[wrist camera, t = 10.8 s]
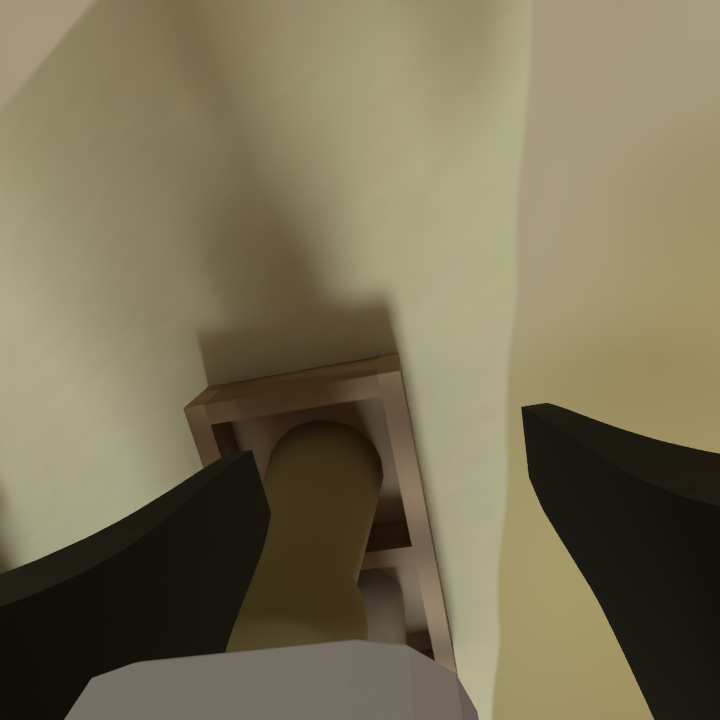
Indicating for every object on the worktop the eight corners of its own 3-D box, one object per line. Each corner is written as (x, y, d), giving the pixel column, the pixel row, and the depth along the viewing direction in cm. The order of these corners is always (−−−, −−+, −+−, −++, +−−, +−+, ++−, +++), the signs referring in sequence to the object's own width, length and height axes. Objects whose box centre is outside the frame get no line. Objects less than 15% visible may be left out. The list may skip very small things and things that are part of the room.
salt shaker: (412, 635, 25) (427, 882, 16) (319, 645, 26) (280, 888, 16) (394, 557, 24) (400, 777, 14) (297, 569, 24) (238, 788, 15)
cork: (338, 398, 21) (290, 561, 11) (406, 488, 22) (423, 714, 12) (245, 458, 23) (120, 656, 12) (314, 540, 24) (255, 786, 13)
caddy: (453, 648, 26) (460, 695, 24) (295, 663, 27) (285, 710, 25) (398, 353, 21) (399, 370, 19) (207, 387, 22) (183, 408, 20)
